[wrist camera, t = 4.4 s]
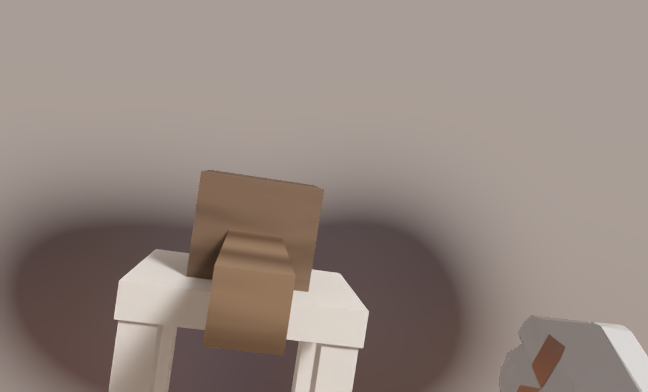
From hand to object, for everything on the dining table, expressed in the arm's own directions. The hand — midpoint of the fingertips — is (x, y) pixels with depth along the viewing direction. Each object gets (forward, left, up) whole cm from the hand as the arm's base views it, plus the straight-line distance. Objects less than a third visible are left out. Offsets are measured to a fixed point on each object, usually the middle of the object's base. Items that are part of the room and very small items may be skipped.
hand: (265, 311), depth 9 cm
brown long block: (+16, -16, -5) cm, 23 cm away
